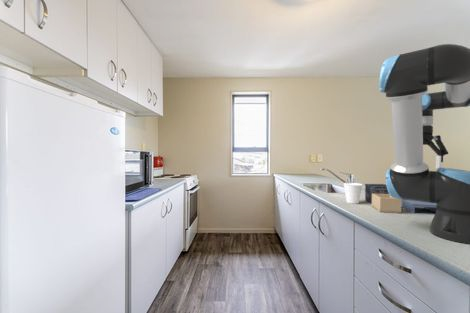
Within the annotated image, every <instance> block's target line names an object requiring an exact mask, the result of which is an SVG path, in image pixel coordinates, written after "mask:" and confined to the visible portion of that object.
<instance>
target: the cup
mask: <svg viewBox="0 0 470 313" xmlns="http://www.w3.org/2000/svg"><path fill="white" fill-rule="evenodd" d="M342 184H343V188H344V194H345V201H346V203H347V204H351V205H357V204H359V202H360V197H361V193H362V188H363V184H362V183H359V182H344V183H342Z"/></svg>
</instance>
